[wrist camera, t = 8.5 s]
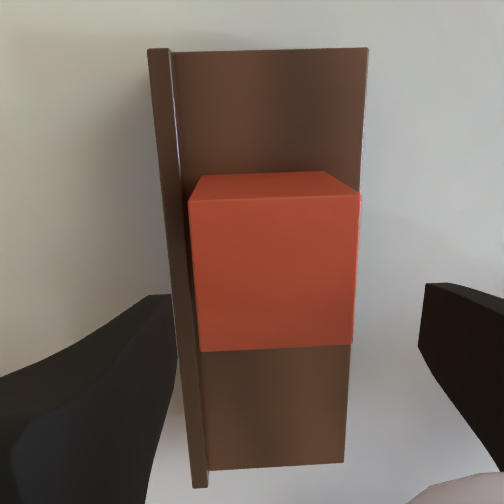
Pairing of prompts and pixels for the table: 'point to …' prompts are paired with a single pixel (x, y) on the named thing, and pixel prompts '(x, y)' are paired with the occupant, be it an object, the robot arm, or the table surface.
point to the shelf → (180, 253)
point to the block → (274, 260)
